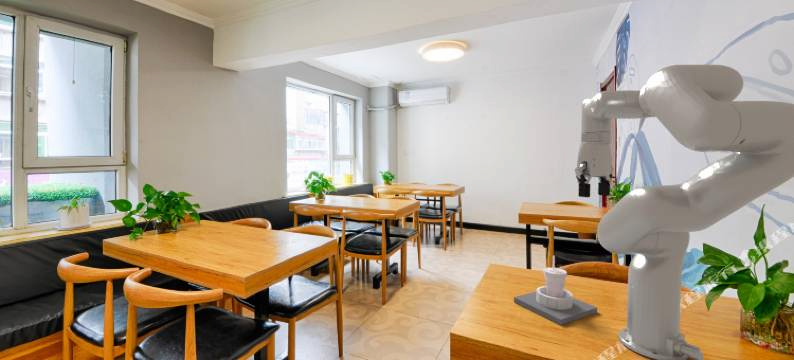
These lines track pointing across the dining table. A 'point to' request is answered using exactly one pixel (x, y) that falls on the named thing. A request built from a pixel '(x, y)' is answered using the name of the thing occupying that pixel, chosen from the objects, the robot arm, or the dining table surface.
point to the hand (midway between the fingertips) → (594, 196)
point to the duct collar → (555, 306)
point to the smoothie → (555, 280)
